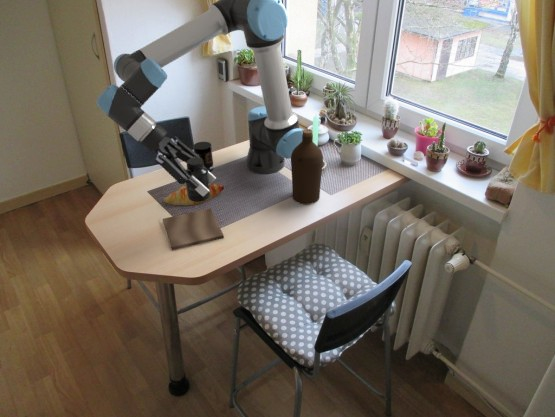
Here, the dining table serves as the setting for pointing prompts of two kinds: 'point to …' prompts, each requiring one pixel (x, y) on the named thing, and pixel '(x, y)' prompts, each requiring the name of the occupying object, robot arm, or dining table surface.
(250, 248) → the dining table surface
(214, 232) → the brown cloth napkin
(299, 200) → the olive oil
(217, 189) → the croissant
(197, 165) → the supplement bottle
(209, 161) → the supplement container
